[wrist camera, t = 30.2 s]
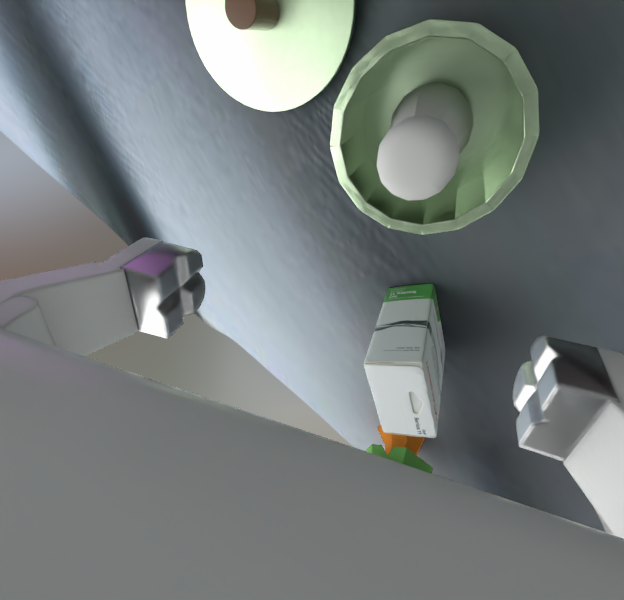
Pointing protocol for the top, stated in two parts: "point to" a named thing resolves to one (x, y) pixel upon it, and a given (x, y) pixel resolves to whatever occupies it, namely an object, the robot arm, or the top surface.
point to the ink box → (407, 361)
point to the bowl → (485, 112)
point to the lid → (272, 47)
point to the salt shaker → (424, 141)
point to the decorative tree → (401, 450)
